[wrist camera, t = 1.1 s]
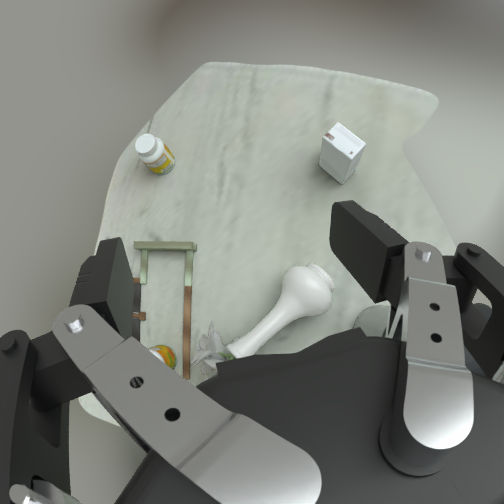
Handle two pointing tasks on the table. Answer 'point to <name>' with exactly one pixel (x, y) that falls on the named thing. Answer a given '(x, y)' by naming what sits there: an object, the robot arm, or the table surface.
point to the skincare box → (340, 152)
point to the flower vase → (272, 316)
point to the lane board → (189, 249)
